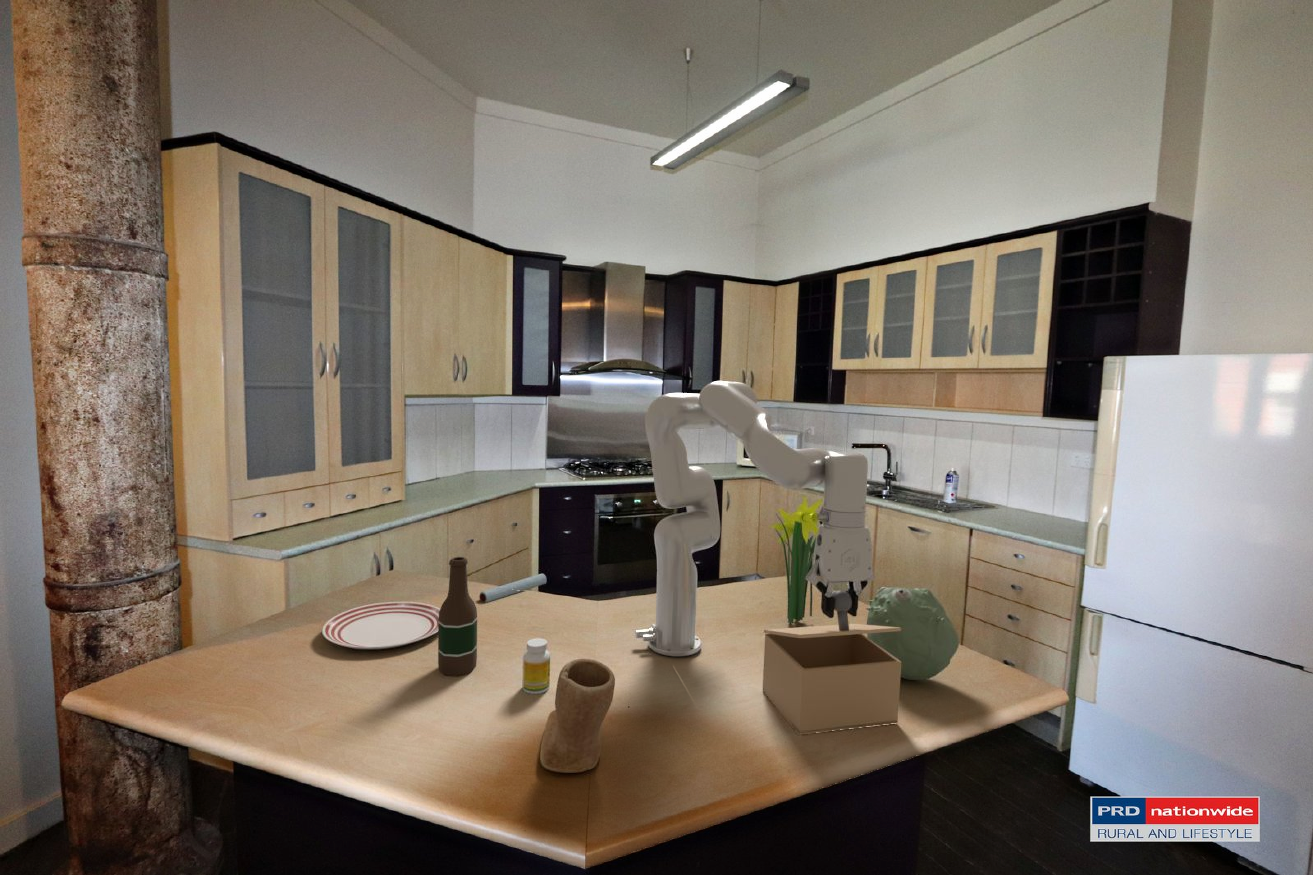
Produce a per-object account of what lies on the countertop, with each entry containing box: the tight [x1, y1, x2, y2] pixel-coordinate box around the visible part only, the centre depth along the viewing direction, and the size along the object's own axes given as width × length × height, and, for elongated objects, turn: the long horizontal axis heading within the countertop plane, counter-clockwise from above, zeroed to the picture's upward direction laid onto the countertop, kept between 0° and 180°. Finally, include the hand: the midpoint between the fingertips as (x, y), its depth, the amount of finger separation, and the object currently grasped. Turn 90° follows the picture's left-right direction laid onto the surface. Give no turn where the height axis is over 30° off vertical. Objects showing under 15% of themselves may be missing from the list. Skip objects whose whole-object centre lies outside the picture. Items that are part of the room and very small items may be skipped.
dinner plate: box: [321, 601, 441, 650], centre depth 143 cm, size 28×27×3 cm
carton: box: [762, 633, 902, 736], centre depth 115 cm, size 20×16×12 cm
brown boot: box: [539, 658, 616, 774], centre depth 99 cm, size 15×12×15 cm
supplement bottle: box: [522, 637, 551, 695], centre depth 119 cm, size 5×5×10 cm
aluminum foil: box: [479, 573, 548, 603], centre depth 174 cm, size 23×7×3 cm, turn 144°
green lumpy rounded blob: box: [865, 586, 960, 681], centre depth 129 cm, size 16×19×20 cm
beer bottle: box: [437, 556, 478, 678], centre depth 125 cm, size 8×8×24 cm
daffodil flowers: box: [769, 495, 824, 624], centre depth 159 cm, size 17×15×35 cm
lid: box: [763, 589, 901, 638], centre depth 116 cm, size 20×16×8 cm
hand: (839, 613), depth 112 cm, fingers closed on lid, 4 cm apart
